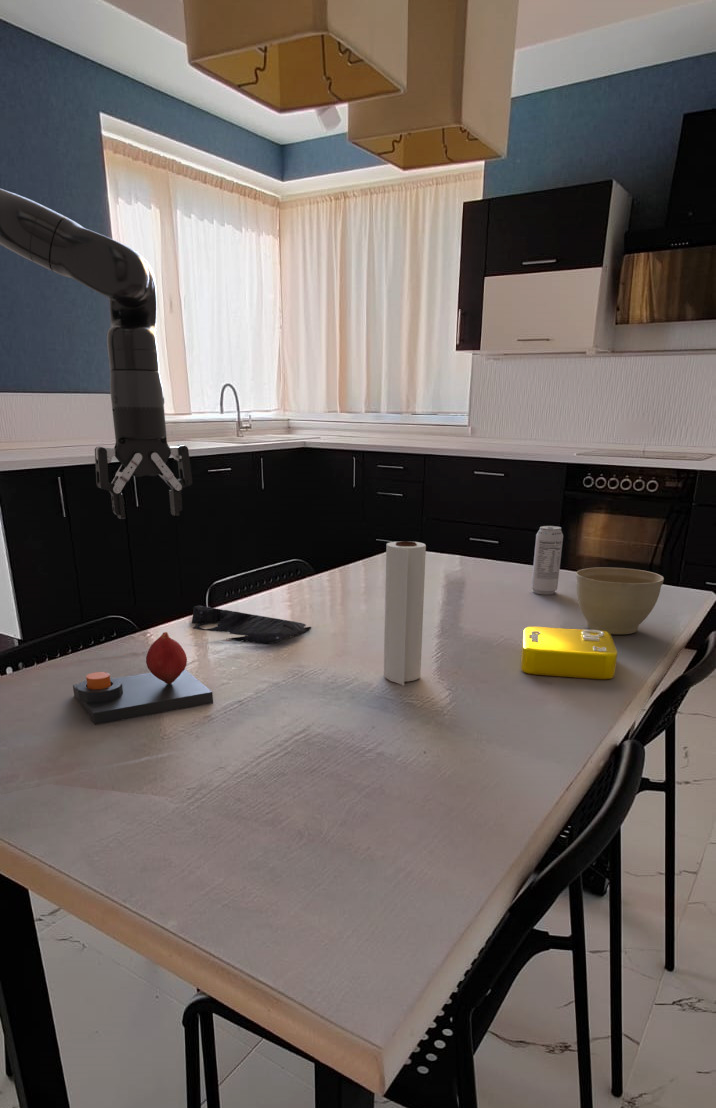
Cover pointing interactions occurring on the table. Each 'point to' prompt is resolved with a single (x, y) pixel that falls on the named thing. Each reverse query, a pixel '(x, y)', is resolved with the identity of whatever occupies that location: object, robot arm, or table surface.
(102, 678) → the button
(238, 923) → the table surface
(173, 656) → the onion
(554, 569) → the energy drink can
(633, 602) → the planter bowl
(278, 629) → the dark slate chunk
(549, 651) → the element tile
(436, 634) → the table surface
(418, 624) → the paper towel roll
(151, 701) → the scale
